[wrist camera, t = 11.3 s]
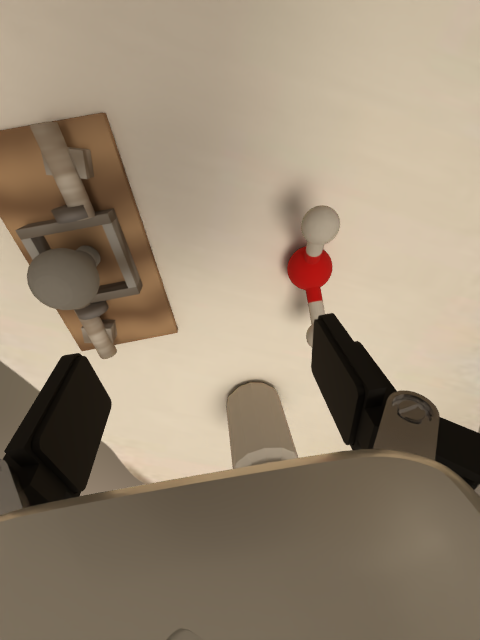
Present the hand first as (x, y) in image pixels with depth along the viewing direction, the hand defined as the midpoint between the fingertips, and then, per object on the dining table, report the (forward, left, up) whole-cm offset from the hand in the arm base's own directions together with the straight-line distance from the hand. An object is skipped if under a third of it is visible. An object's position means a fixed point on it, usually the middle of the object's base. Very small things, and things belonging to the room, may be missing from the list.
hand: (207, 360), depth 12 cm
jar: (+33, +2, -26) cm, 42 cm away
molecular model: (+8, +12, -26) cm, 30 cm away
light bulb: (+2, -14, -25) cm, 29 cm away
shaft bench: (+2, -14, -26) cm, 30 cm away
